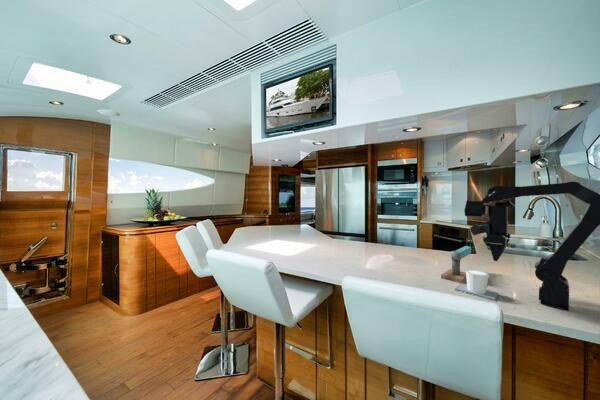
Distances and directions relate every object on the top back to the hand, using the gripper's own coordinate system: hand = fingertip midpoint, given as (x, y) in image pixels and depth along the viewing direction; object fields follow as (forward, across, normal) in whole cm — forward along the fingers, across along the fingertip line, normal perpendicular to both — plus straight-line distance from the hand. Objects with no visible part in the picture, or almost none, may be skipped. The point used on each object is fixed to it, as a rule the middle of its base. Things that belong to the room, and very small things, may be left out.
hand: (497, 258), depth 90 cm
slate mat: (+12, +7, -5) cm, 15 cm away
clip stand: (+12, -5, -15) cm, 20 cm away
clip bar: (+4, -13, -14) cm, 20 cm away
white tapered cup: (+12, +7, -5) cm, 15 cm away
